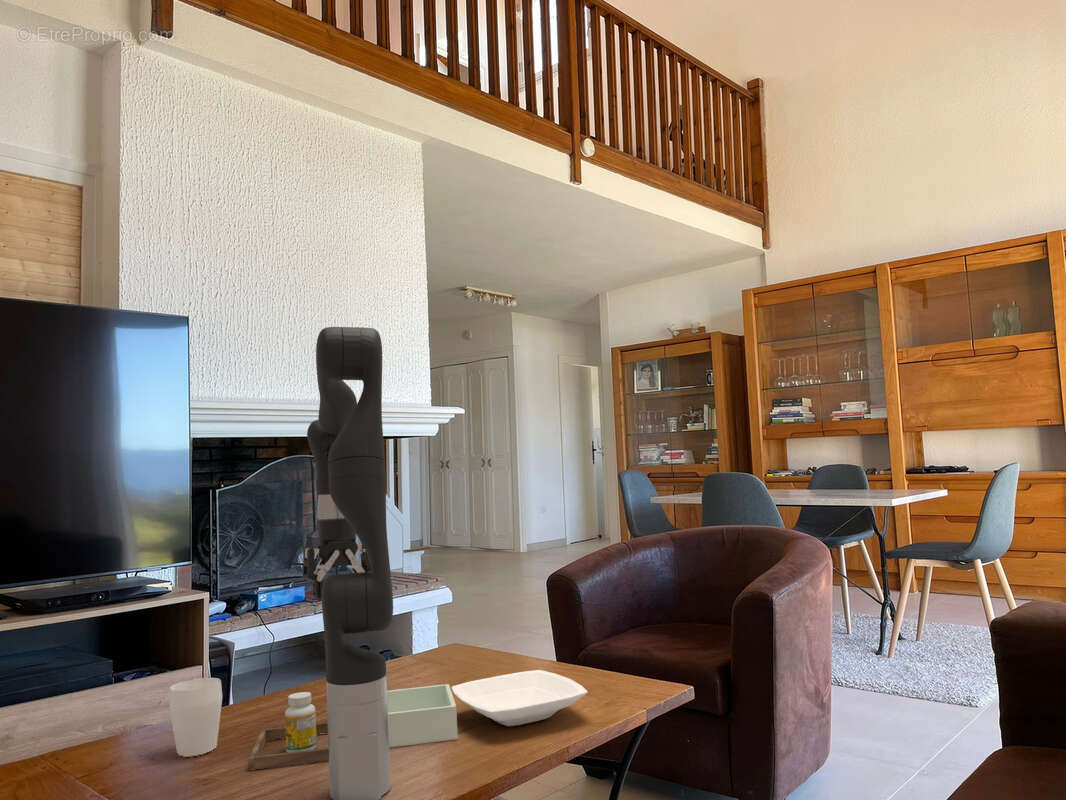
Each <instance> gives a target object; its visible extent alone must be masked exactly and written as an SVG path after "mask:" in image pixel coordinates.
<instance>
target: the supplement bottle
mask: <svg viewBox="0 0 1066 800" xmlns="http://www.w3.org/2000/svg"><path fill="white" fill-rule="evenodd" d="M311 702H312V693H311V692H309V691H303V692H302V691H301V692H295V693H291V694H289V695H288V698H287V704H288V705H289V707H287V708H285V712H284V727H285V732H286V739H285V751H286V753H287V752H296V751H304V750H312V749H317V743H318V741H317V736H318V735H316V723H317V715H316V714H317V713H316V706H315V705H314V704H312V703H311Z"/></svg>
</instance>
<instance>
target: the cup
mask: <svg viewBox="0 0 1066 800" xmlns="http://www.w3.org/2000/svg"><path fill="white" fill-rule="evenodd" d="M222 691H223V689H222V680H221V679H220V678H216V677H201V678H200V677H199V678H193V679H188V680H183V681H180V682H177V683H175V684H173V685H171V686H170V687H169V701H168V702H169V703H168V706H169V713H170V719H171V725H172V731H173V737H174V738H173V739H174V743H175V748H176V750H175V751H176V754H177V753H178V754H179V755H184V756H191V755H198V754H203V753H206V752H209V751H211V750H213V749H214V748H216V749H217V747H216V746H217V745H218V739H219V730H220V729H219V728H220V721H221V713H222V705H223V704H222V703H223V692H222Z"/></svg>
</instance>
